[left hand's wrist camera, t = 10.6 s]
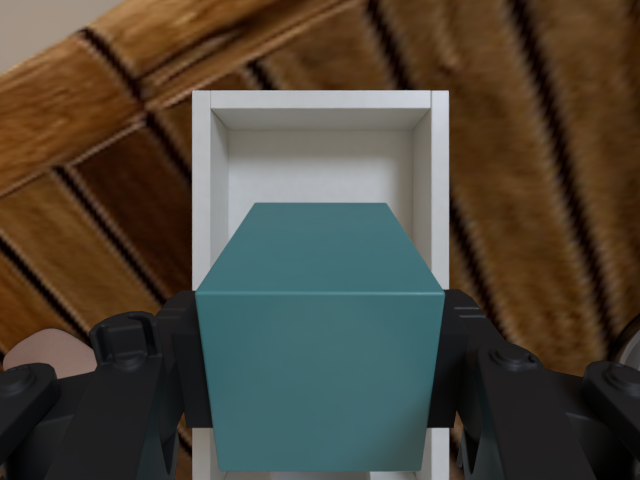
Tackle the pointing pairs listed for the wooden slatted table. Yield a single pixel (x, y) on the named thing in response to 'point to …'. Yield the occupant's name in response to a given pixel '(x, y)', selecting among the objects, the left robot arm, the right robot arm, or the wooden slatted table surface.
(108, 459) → the left robot arm
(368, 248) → the block
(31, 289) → the wooden slatted table surface
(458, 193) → the wooden slatted table surface
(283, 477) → the right robot arm
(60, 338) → the anatomical model
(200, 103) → the tray
